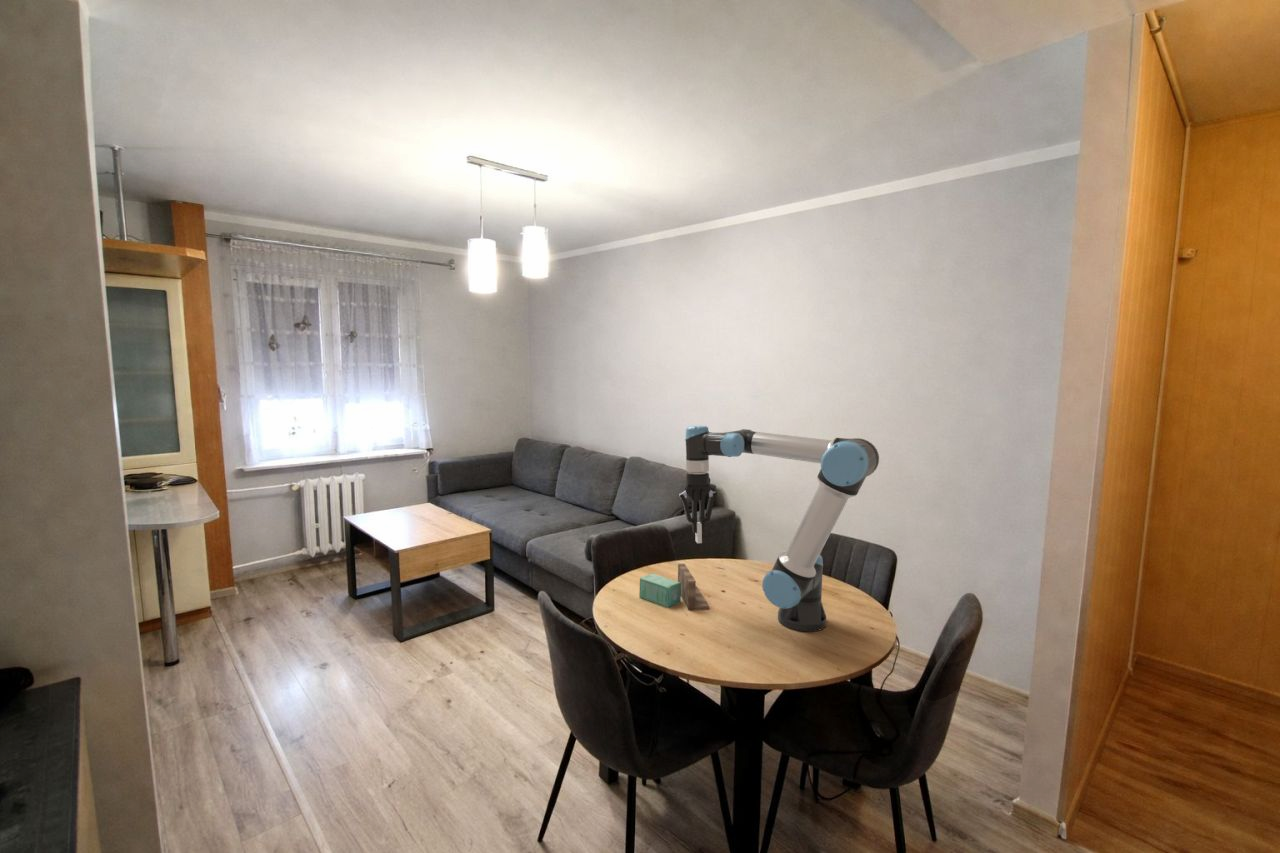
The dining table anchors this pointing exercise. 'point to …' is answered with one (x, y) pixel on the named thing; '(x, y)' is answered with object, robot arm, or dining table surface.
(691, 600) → the walnut angle bracket
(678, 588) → the box
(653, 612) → the dining table surface
